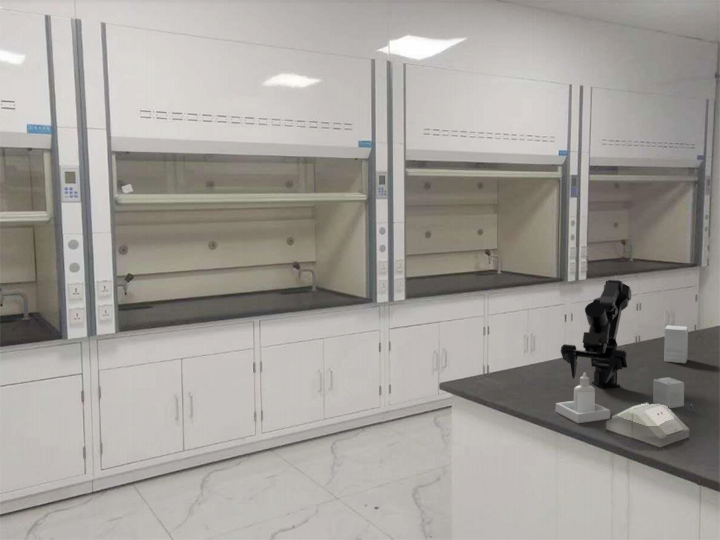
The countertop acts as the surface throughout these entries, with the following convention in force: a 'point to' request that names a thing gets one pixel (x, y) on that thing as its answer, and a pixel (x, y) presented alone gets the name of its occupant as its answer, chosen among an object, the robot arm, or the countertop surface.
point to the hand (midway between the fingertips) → (589, 380)
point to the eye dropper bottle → (584, 396)
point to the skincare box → (668, 392)
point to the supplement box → (676, 344)
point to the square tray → (568, 411)
